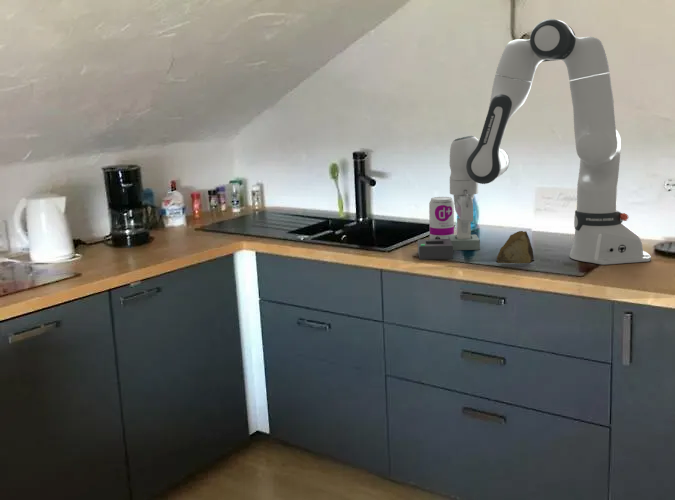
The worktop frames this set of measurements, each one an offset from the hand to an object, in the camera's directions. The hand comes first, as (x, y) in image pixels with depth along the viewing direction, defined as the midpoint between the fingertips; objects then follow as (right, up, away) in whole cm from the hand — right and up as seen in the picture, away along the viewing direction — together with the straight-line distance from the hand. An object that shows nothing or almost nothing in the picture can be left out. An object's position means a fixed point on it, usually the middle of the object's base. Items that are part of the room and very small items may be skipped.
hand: (463, 231), depth 230 cm
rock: (+12, -10, -17) cm, 23 cm away
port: (-10, -9, -9) cm, 16 cm away
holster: (0, -6, +1) cm, 6 cm away
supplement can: (-5, -4, +15) cm, 16 cm away
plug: (0, -5, +1) cm, 5 cm away
